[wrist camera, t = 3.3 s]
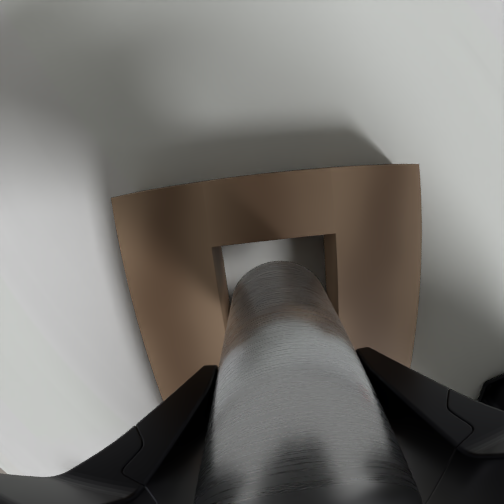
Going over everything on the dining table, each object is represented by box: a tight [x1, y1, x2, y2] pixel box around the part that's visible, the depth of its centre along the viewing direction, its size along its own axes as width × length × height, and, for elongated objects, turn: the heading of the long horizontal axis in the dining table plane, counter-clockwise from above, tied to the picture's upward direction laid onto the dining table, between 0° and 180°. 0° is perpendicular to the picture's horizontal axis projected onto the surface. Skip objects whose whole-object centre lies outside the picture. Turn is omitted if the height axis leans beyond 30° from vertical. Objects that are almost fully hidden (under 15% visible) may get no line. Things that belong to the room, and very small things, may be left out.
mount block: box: [111, 164, 422, 401], centre depth 17 cm, size 14×21×3 cm, turn 7°
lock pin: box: [194, 261, 422, 504], centre depth 8 cm, size 4×4×10 cm
